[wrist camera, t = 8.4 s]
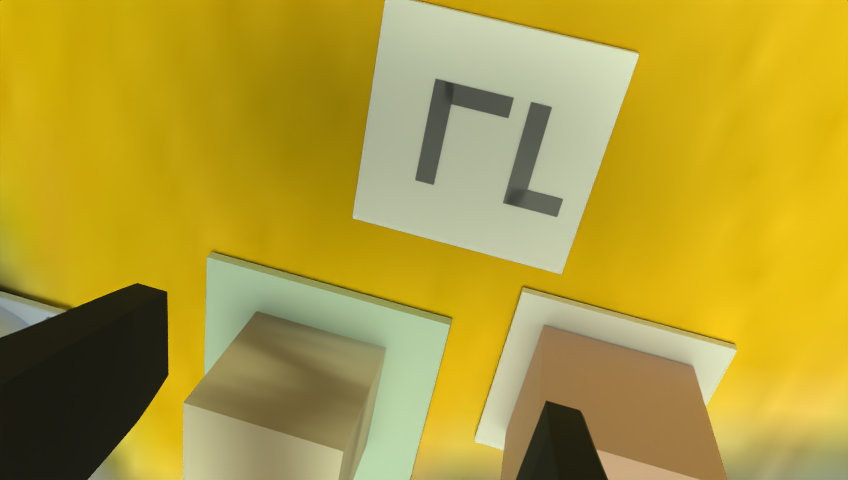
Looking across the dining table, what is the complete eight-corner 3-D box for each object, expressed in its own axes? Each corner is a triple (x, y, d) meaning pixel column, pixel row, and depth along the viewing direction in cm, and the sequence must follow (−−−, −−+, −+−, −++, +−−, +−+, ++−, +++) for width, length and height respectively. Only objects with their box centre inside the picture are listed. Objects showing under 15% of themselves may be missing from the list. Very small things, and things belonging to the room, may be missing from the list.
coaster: (207, 428, 27) (202, 435, 26) (212, 251, 22) (206, 257, 22) (407, 489, 26) (404, 497, 26) (452, 318, 22) (450, 325, 21)
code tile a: (354, 214, 20) (351, 218, 20) (388, -7, 17) (385, -6, 17) (561, 269, 20) (561, 275, 20) (638, 52, 17) (639, 54, 16)
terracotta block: (505, 431, 23) (492, 549, 19) (543, 324, 21) (538, 432, 16) (639, 470, 23) (657, 601, 18) (693, 366, 20) (729, 488, 16)
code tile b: (475, 435, 24) (473, 442, 24) (523, 286, 20) (522, 292, 20) (655, 488, 23) (656, 496, 23) (734, 344, 20) (737, 351, 20)
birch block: (249, 409, 25) (182, 511, 21) (256, 310, 23) (183, 402, 18) (366, 445, 25) (324, 556, 20) (386, 348, 22) (343, 451, 18)
